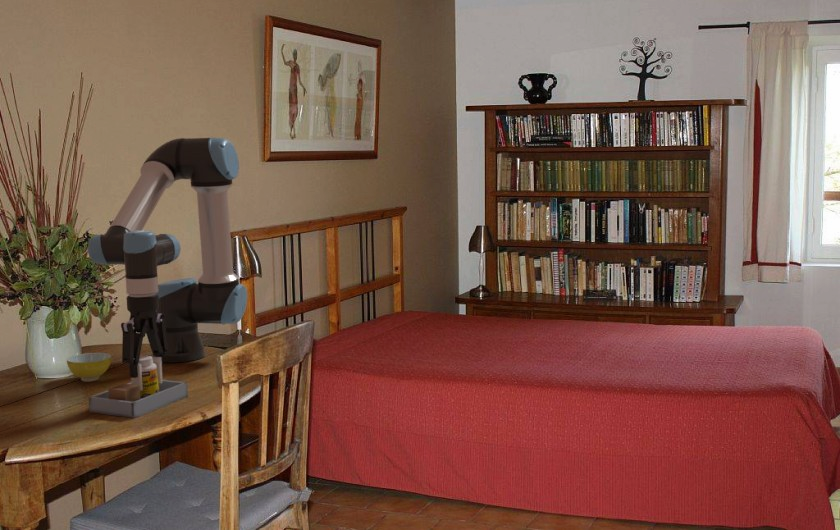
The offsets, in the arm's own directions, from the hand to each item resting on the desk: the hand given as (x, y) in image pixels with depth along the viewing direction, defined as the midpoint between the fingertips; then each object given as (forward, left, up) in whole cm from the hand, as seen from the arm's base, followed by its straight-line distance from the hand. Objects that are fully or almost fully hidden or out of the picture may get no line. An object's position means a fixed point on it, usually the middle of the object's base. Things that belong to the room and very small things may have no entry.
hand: (147, 385), depth 227 cm
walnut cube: (+8, 0, -3) cm, 9 cm away
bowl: (-11, -29, -4) cm, 31 cm away
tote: (+3, 0, -4) cm, 5 cm away
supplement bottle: (0, 0, -3) cm, 3 cm away
